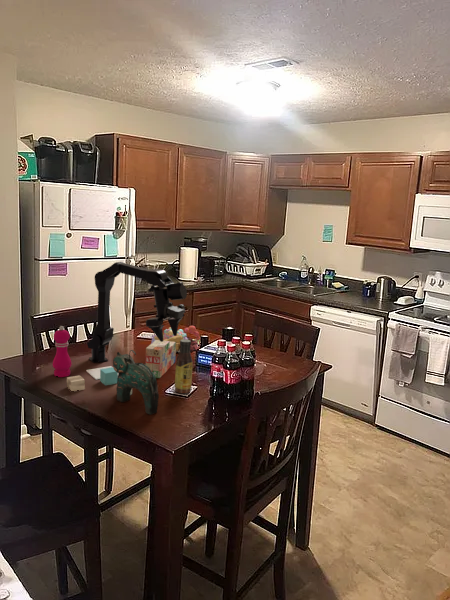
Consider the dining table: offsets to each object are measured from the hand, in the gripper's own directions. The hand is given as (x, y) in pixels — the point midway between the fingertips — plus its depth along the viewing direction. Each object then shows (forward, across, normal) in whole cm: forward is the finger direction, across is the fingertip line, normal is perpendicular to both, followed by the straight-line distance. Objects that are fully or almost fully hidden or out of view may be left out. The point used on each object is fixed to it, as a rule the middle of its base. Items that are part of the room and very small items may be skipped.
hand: (168, 338), depth 206 cm
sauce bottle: (+18, -12, -12) cm, 25 cm away
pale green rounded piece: (+14, -27, +3) cm, 30 cm away
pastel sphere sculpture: (+12, +33, +23) cm, 42 cm away
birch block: (+10, -34, +20) cm, 41 cm away
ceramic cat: (+16, -33, -7) cm, 37 cm away
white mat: (+10, -16, +23) cm, 30 cm away
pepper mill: (+7, -28, +34) cm, 45 cm away
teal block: (+11, -22, +15) cm, 29 cm away
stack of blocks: (+14, +2, +9) cm, 16 cm away
